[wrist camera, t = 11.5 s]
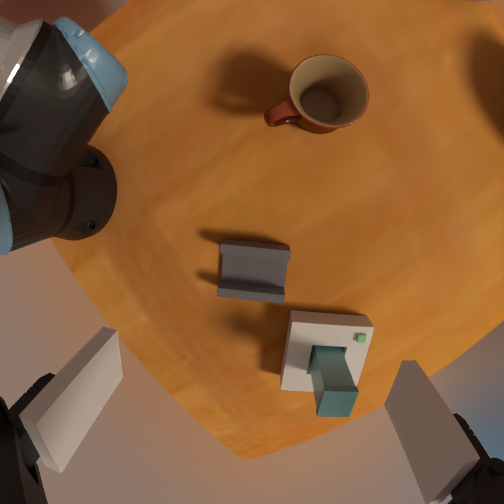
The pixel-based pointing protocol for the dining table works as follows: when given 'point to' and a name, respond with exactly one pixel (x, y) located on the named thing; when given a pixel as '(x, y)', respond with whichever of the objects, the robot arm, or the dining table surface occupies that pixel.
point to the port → (322, 344)
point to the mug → (322, 96)
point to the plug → (331, 382)
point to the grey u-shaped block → (253, 270)
